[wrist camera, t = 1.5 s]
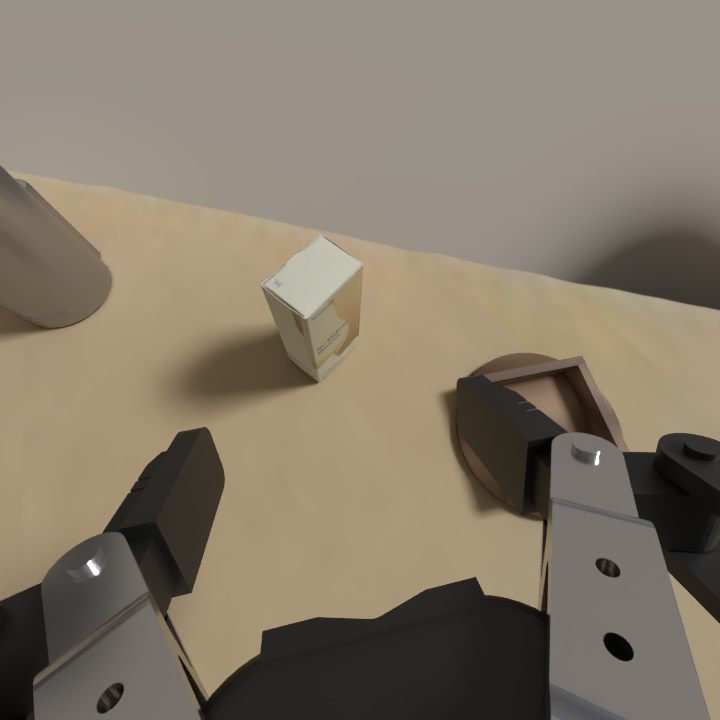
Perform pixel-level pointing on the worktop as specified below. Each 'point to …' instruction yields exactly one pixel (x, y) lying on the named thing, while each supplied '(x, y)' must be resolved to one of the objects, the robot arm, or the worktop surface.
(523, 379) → the walnut stand
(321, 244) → the skincare box
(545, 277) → the worktop surface
